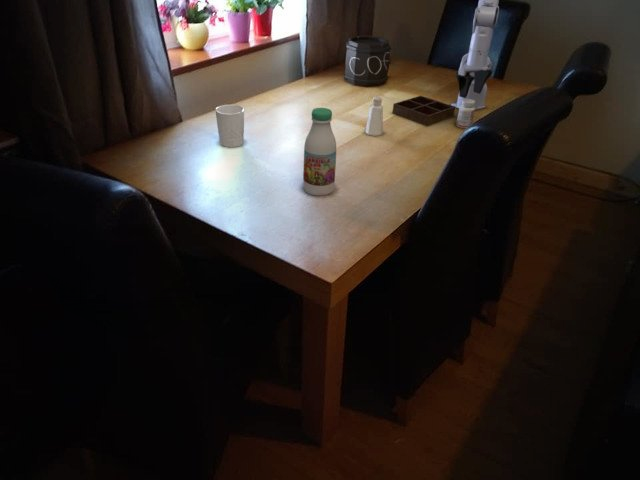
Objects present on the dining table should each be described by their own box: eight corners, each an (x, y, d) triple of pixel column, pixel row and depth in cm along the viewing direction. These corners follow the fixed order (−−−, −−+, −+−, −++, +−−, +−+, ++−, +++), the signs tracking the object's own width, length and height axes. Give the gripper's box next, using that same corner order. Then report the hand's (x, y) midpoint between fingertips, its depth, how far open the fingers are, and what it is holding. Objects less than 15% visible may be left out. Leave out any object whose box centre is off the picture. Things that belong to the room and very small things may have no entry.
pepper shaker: (372, 128, 160) (376, 93, 154) (386, 133, 157) (390, 98, 151) (361, 132, 157) (364, 97, 151) (374, 137, 154) (378, 102, 148)
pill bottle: (471, 129, 163) (476, 103, 158) (456, 127, 163) (461, 102, 159) (470, 124, 167) (476, 99, 162) (455, 122, 167) (460, 97, 163)
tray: (419, 104, 181) (420, 95, 179) (453, 116, 172) (455, 106, 170) (392, 113, 172) (393, 103, 170) (427, 126, 164) (428, 116, 162)
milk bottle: (302, 181, 128) (303, 104, 117) (332, 181, 129) (337, 104, 117) (304, 196, 122) (305, 116, 110) (335, 196, 122) (340, 116, 111)
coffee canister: (391, 89, 195) (396, 46, 186) (344, 87, 195) (347, 44, 186) (386, 75, 210) (391, 35, 201) (343, 73, 210) (346, 33, 201)
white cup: (250, 140, 149) (248, 106, 143) (237, 150, 142) (236, 115, 137) (226, 135, 151) (223, 102, 145) (213, 145, 144) (210, 111, 139)
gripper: (476, 56, 145) (466, 102, 152) (504, 49, 153) (493, 94, 161) (456, 50, 149) (447, 96, 157) (484, 44, 157) (474, 88, 165)
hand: (469, 94), depth 159 cm, fingers open, 7 cm apart
